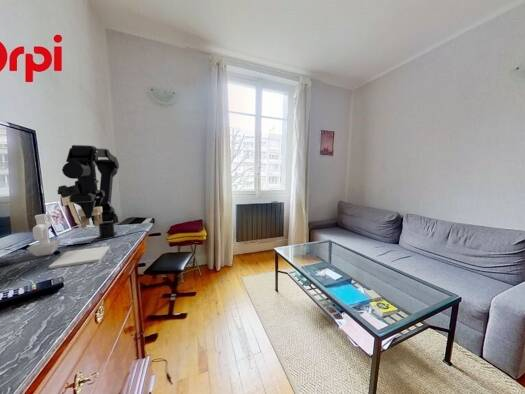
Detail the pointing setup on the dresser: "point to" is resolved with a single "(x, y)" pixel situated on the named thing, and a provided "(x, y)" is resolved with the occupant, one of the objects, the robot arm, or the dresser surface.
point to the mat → (80, 257)
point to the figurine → (43, 237)
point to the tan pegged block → (96, 213)
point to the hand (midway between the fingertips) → (91, 216)
